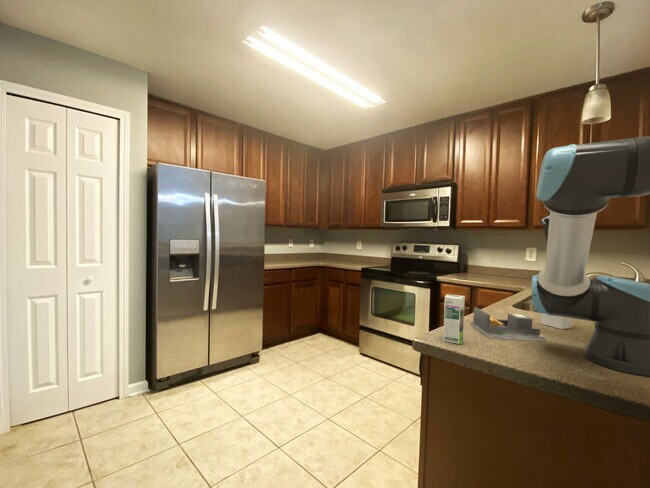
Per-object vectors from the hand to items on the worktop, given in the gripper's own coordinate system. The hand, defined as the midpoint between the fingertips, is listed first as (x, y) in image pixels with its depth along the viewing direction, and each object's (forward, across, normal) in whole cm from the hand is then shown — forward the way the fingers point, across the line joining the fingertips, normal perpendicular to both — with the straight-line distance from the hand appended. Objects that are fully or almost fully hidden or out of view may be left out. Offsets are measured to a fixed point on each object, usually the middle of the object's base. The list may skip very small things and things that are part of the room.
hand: (558, 266), depth 103 cm
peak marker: (+23, +23, +4) cm, 32 cm away
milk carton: (+24, -7, -10) cm, 27 cm away
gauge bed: (+24, +18, +1) cm, 30 cm away
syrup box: (+24, +40, +13) cm, 48 cm away
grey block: (+23, +13, +1) cm, 26 cm away
